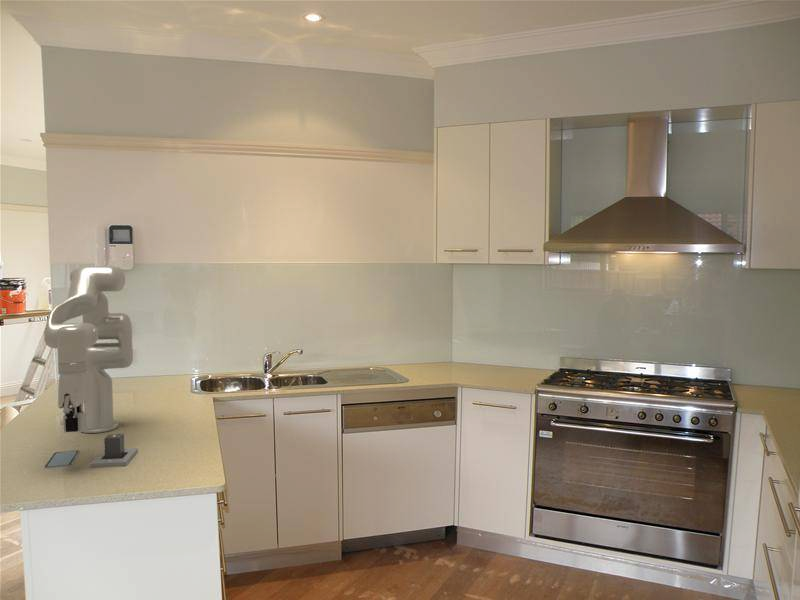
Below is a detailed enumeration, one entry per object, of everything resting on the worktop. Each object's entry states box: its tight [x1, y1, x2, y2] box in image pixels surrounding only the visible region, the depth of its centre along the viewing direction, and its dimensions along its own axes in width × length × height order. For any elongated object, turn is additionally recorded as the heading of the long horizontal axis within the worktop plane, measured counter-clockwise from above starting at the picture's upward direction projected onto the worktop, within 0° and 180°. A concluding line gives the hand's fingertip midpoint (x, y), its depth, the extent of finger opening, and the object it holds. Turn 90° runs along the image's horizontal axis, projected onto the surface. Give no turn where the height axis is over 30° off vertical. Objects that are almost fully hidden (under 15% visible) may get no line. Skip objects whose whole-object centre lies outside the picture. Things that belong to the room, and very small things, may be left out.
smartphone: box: [43, 449, 80, 469], centre depth 192 cm, size 7×1×15 cm
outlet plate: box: [89, 447, 139, 468], centre depth 192 cm, size 14×10×1 cm
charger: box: [103, 433, 125, 459], centre depth 192 cm, size 4×4×7 cm
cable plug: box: [59, 411, 86, 433], centre depth 183 cm, size 4×6×5 cm, turn 99°
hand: (74, 428), depth 183 cm, fingers closed on cable plug, 3 cm apart
